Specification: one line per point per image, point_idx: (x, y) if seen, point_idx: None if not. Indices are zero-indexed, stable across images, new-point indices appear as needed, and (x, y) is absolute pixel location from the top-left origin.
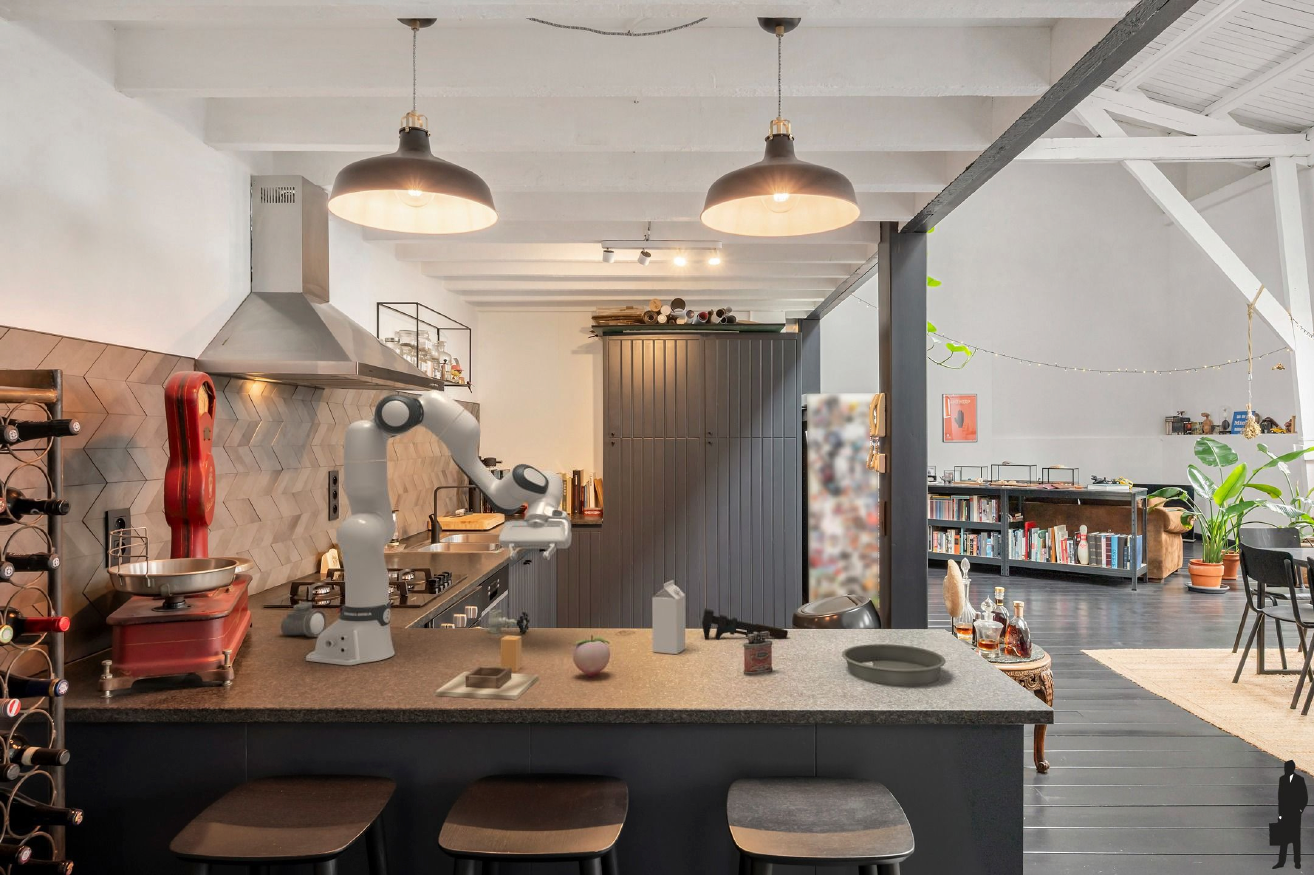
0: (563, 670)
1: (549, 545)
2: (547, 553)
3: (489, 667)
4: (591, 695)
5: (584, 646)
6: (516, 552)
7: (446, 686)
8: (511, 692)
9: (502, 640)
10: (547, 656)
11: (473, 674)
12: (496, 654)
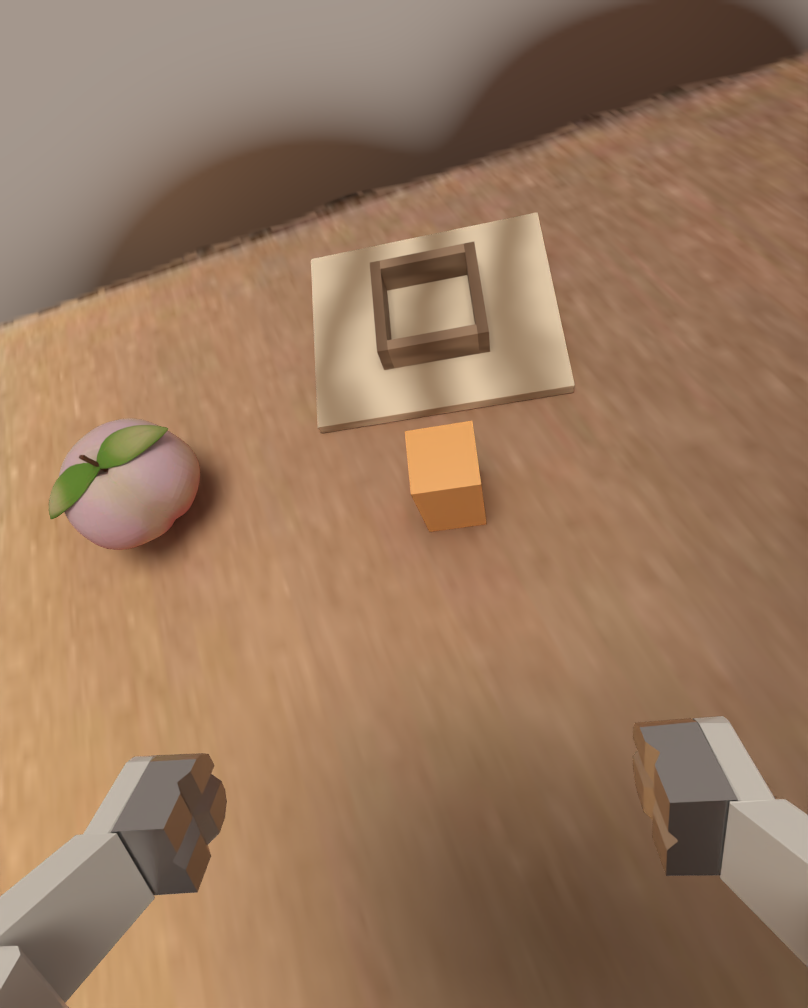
0: (274, 539)
1: (14, 958)
2: (121, 795)
3: (449, 333)
4: (143, 354)
5: (123, 424)
6: (666, 817)
7: (534, 252)
8: (330, 271)
9: (465, 424)
10: (395, 706)
11: (468, 275)
12: (627, 684)
